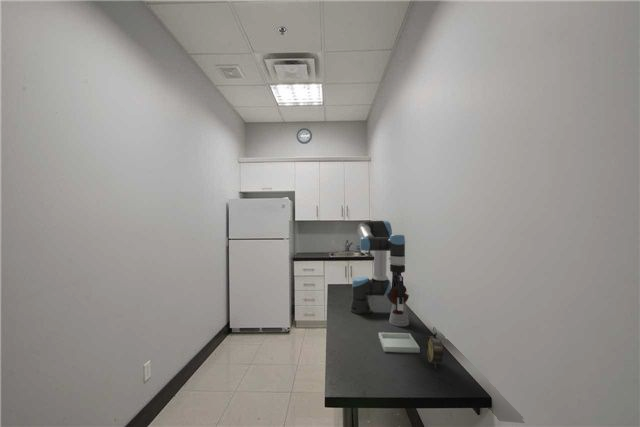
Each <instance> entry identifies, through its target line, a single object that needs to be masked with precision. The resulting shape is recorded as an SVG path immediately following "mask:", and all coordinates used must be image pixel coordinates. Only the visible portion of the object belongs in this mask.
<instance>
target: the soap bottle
mask: <svg viewBox="0 0 640 427" xmlns="http://www.w3.org/2000/svg"><path fill="white" fill-rule="evenodd" d="M405 293H408V291H407V290H406V292H405ZM394 310H396V305H395V304H393V303H392V305H391V310H390V315H389V320H388V323H389V324H390V325H391V326H395V327H403V328H404V327H408V326H409V325H410V320H409V316H408V311H407V306H406V302H405V303H404V304H403V311H402V312H403V314H401V315H397V314H394V313H392V312H393V311H394Z"/></svg>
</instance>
